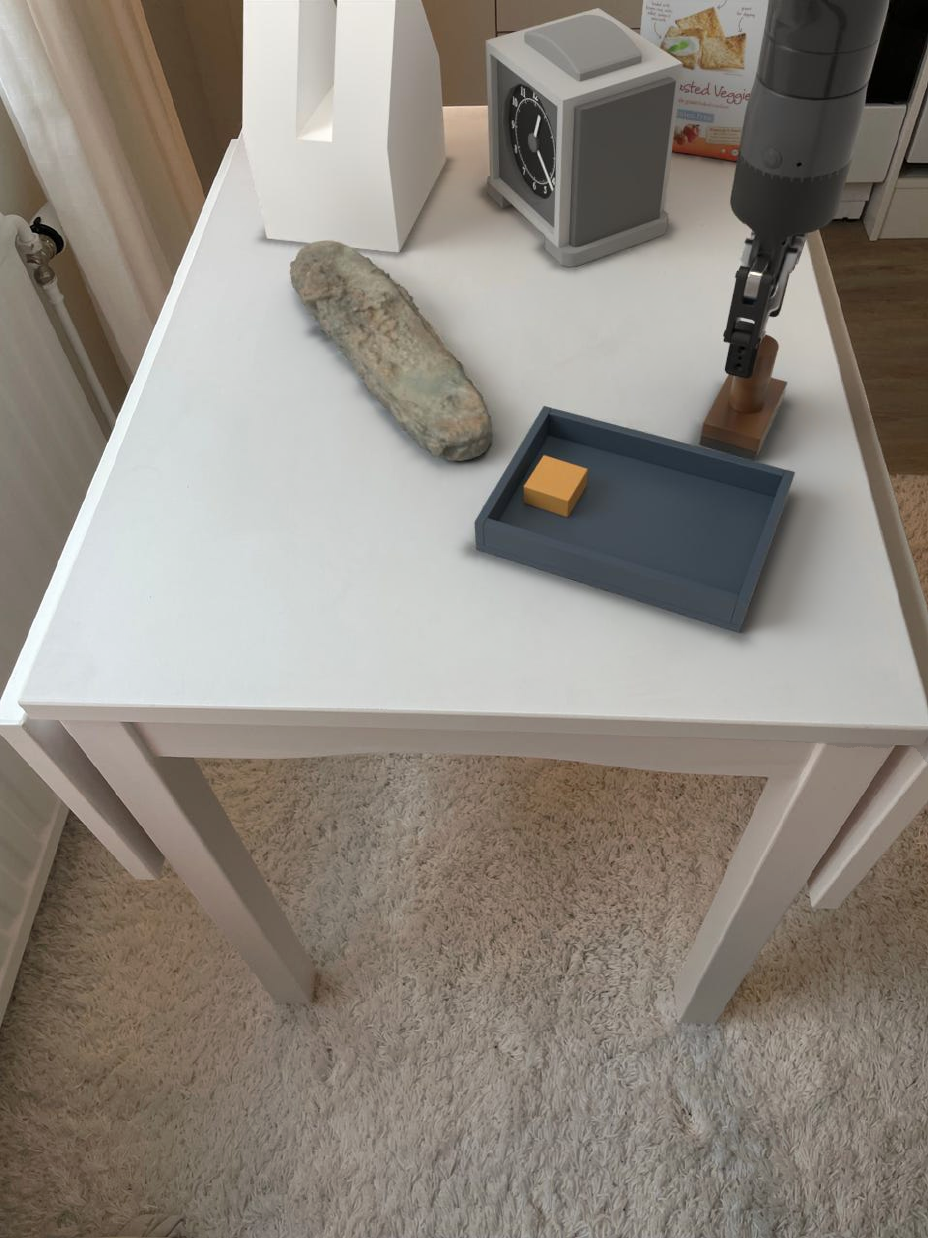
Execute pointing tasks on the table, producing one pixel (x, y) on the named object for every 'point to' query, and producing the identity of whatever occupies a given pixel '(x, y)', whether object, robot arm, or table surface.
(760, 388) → the rubber stamp
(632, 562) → the tray
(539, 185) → the alarm clock
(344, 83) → the white slotted tapered block
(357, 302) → the elongated rock
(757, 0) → the cracker box
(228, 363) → the table surface
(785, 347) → the table surface
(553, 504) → the orange squat block
